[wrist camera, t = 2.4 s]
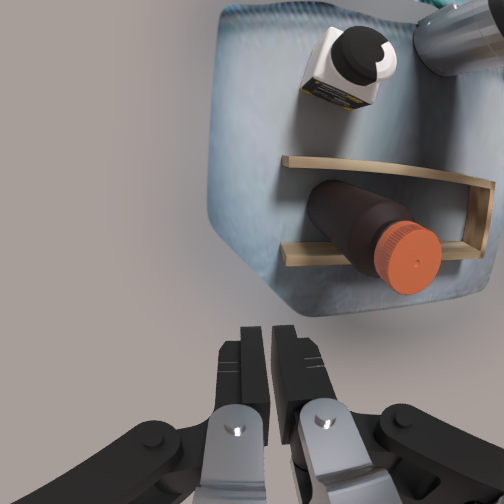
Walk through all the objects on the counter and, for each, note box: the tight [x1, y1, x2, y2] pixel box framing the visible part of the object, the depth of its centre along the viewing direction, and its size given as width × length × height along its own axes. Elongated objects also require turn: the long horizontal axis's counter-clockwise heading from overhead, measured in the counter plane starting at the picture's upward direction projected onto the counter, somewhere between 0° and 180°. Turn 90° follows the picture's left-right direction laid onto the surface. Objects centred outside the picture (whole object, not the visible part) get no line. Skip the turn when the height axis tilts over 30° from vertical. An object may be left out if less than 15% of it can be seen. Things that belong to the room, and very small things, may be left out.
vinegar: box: [307, 180, 442, 295], centre depth 26 cm, size 7×7×20 cm
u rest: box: [280, 156, 495, 266], centre depth 34 cm, size 12×33×5 cm, turn 90°
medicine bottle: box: [300, 26, 397, 111], centre depth 24 cm, size 7×7×12 cm
